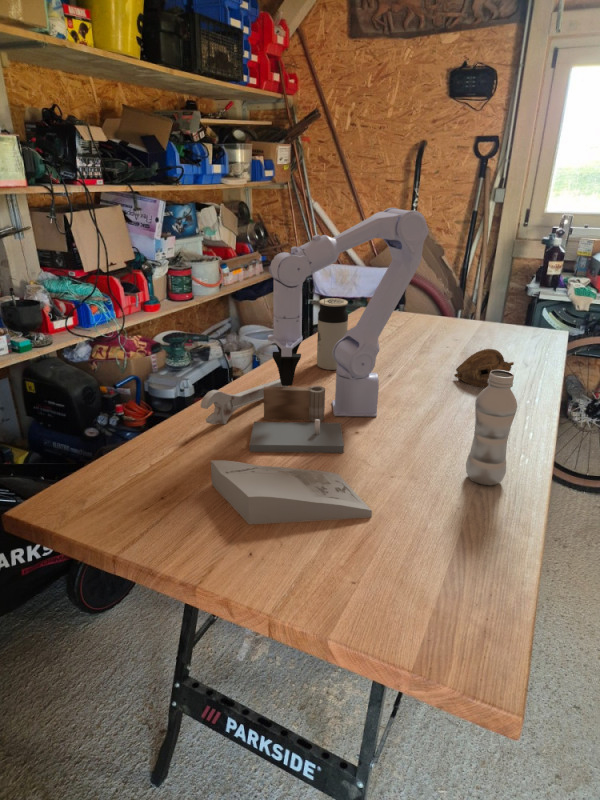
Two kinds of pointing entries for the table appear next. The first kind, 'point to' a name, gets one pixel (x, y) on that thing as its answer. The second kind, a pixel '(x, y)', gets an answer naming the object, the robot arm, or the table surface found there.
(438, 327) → the table surface
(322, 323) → the travel mug
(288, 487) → the ramp
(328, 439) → the hinge board
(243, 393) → the wrench
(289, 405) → the door
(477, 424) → the plastic bottle
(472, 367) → the lumpy brown dome
